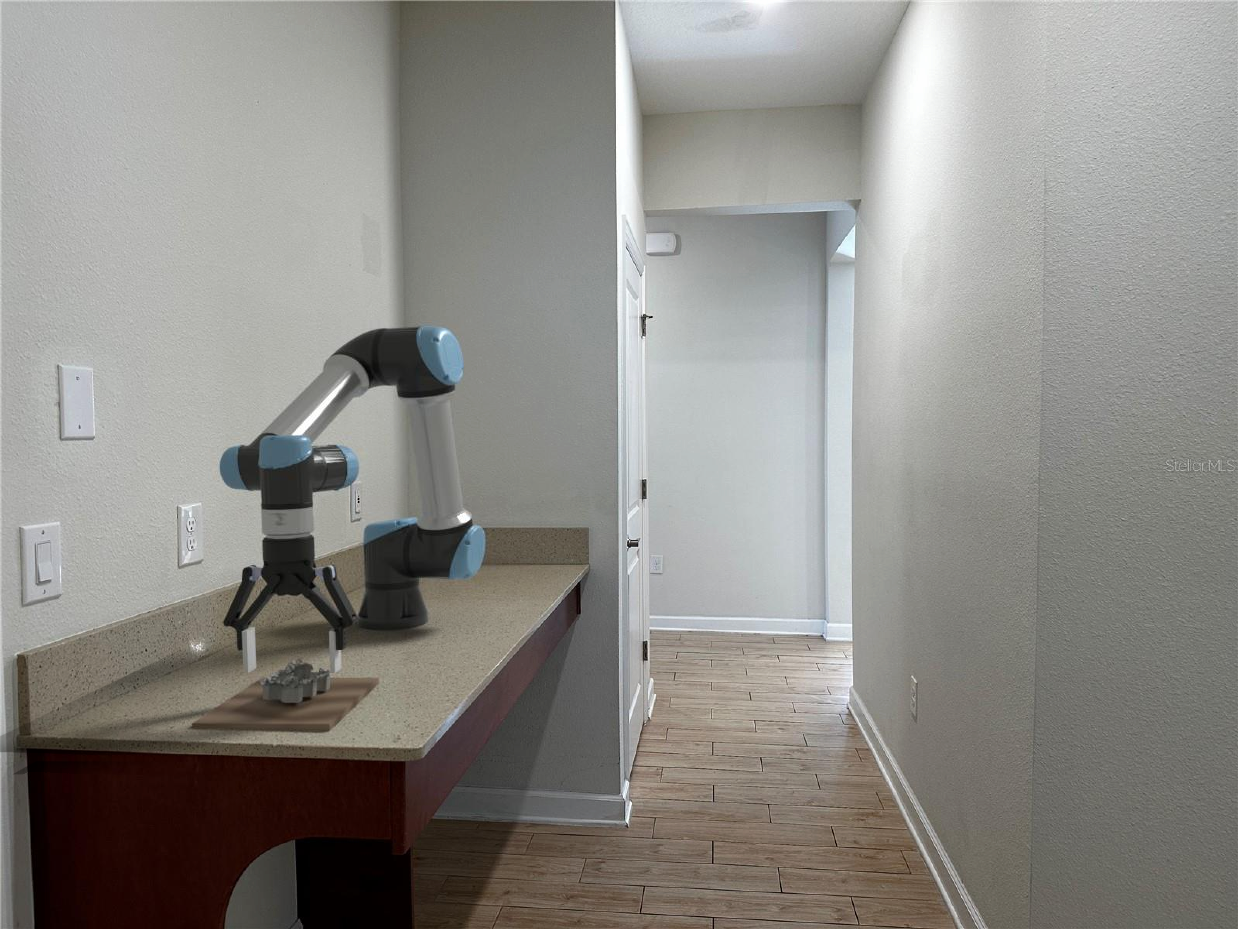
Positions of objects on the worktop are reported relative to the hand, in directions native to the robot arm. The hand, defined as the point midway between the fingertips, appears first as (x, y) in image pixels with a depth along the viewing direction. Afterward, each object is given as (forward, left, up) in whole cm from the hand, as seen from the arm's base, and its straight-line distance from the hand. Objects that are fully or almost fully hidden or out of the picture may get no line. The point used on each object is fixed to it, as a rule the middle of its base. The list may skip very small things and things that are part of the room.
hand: (292, 670), depth 133 cm
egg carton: (0, -2, -5) cm, 6 cm away
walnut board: (0, 0, -6) cm, 6 cm away
